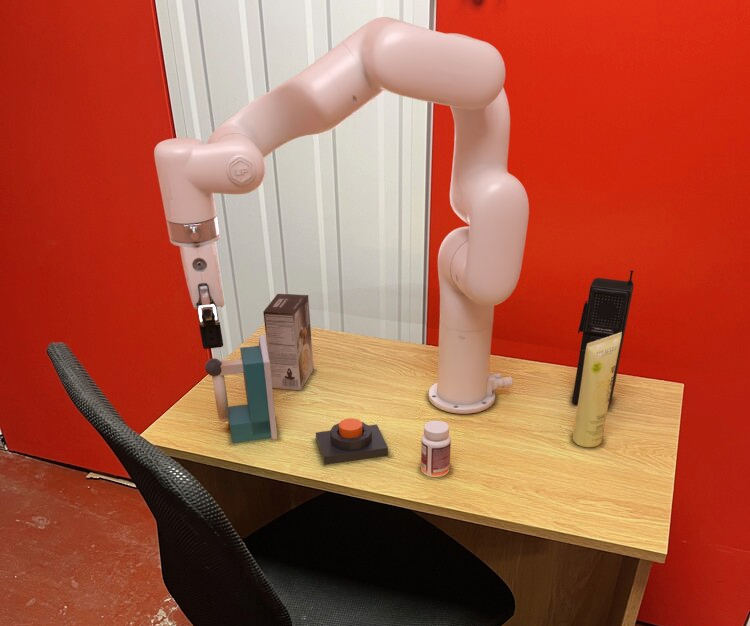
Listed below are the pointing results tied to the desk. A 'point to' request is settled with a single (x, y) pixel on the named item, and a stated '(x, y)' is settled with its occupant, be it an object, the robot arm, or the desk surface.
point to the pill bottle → (435, 449)
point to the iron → (247, 394)
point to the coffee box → (289, 341)
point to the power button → (350, 428)
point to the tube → (595, 390)
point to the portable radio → (603, 320)
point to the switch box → (351, 445)
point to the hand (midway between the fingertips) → (211, 334)
